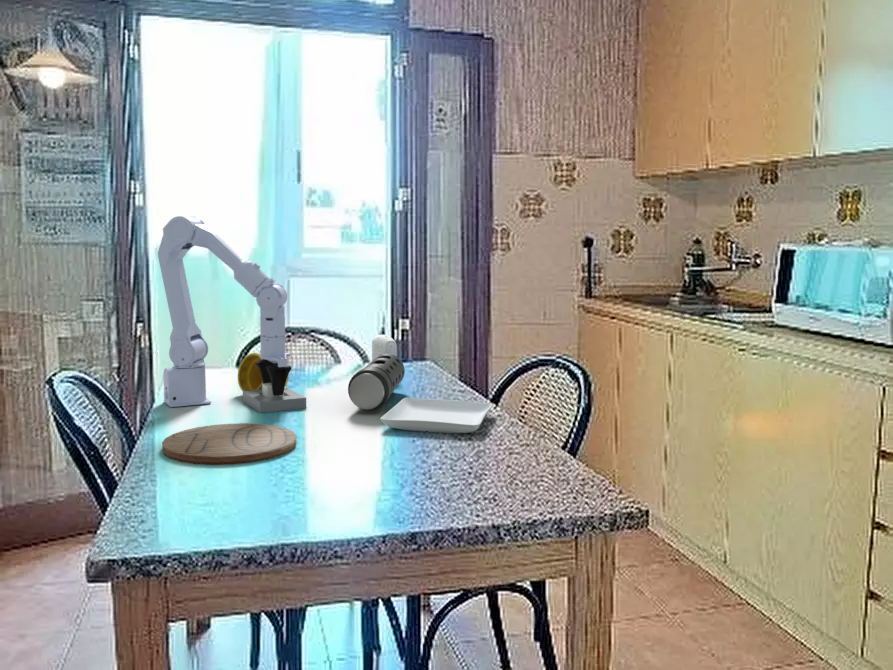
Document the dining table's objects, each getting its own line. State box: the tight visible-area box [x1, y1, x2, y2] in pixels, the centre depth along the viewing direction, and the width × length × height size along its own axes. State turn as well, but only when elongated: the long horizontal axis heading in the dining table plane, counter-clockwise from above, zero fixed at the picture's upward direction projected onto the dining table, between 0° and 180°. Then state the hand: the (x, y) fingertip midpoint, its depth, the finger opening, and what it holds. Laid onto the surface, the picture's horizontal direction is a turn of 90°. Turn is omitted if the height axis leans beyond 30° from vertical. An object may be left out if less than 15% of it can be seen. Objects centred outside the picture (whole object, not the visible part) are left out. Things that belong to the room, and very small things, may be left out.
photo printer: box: [371, 334, 398, 365], centre depth 231 cm, size 10×4×12 cm, turn 28°
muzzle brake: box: [347, 354, 406, 411], centre depth 199 cm, size 10×28×10 cm, turn 174°
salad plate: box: [380, 397, 494, 434], centre depth 180 cm, size 21×21×3 cm
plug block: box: [262, 383, 284, 398], centre depth 196 cm, size 4×4×5 cm
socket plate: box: [242, 386, 307, 414], centre depth 196 cm, size 11×14×3 cm
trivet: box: [161, 422, 297, 466], centre depth 159 cm, size 25×25×2 cm
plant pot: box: [237, 352, 289, 392], centre depth 209 cm, size 10×10×10 cm
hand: (273, 392), depth 196 cm, fingers open, 6 cm apart
